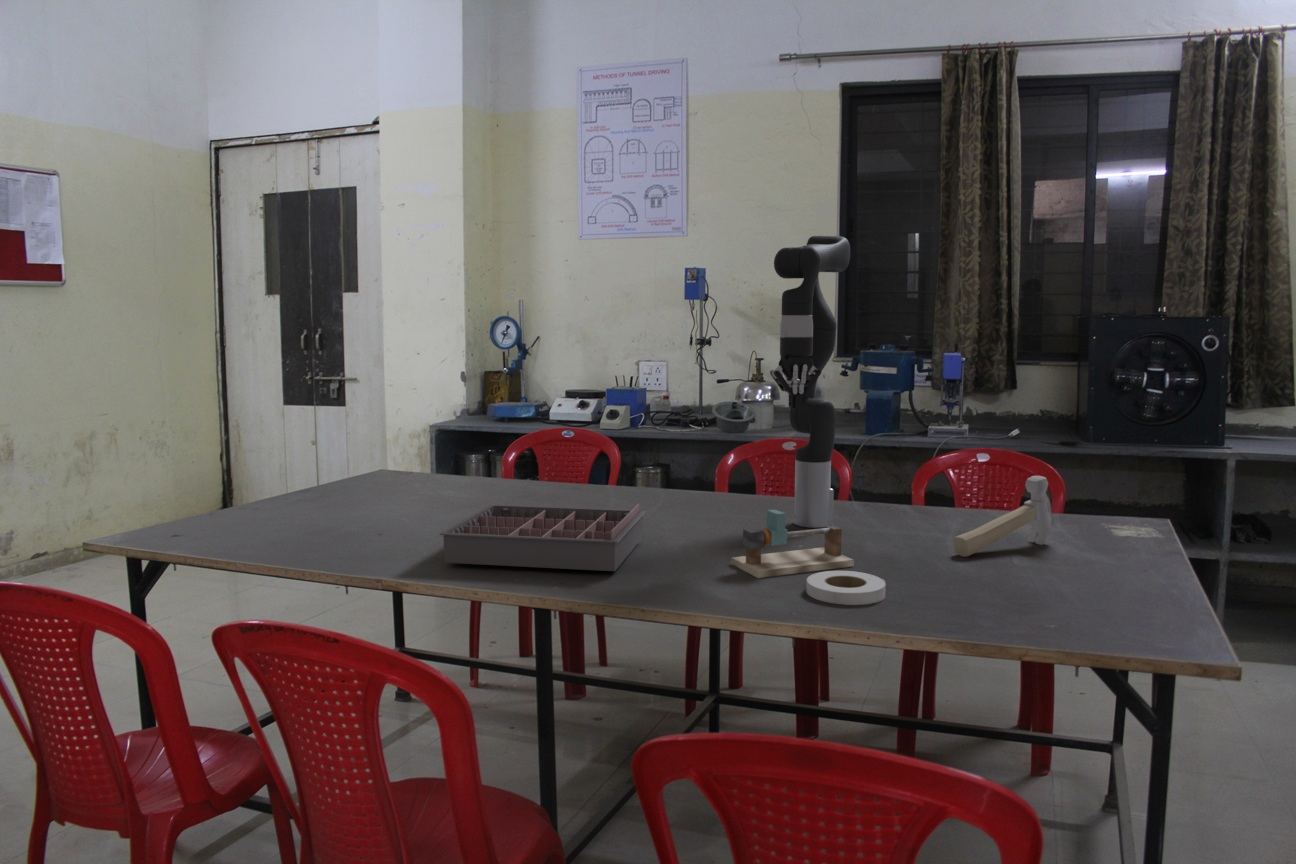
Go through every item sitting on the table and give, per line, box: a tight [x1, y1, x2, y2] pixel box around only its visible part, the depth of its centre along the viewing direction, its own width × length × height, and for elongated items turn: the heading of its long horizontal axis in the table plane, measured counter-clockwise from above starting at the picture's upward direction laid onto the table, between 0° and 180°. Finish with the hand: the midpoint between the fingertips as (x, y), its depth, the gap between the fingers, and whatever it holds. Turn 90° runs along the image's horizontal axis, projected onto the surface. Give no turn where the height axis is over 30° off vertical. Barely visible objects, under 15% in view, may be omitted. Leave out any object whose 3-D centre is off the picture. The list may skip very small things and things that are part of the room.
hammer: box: [952, 475, 1053, 558], centre depth 221 cm, size 16×5×30 cm
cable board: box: [730, 524, 855, 579], centre depth 206 cm, size 24×12×9 cm, turn 113°
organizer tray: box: [439, 503, 647, 572], centre depth 216 cm, size 32×40×10 cm
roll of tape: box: [805, 570, 887, 606], centre depth 186 cm, size 16×15×3 cm
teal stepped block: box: [763, 509, 789, 547], centre depth 204 cm, size 4×4×7 cm
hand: (795, 409), depth 218 cm, fingers closed
